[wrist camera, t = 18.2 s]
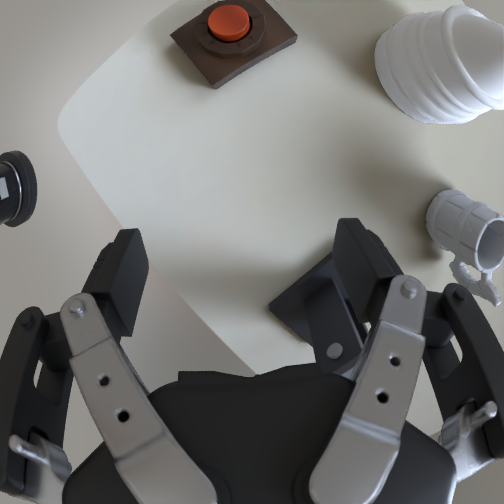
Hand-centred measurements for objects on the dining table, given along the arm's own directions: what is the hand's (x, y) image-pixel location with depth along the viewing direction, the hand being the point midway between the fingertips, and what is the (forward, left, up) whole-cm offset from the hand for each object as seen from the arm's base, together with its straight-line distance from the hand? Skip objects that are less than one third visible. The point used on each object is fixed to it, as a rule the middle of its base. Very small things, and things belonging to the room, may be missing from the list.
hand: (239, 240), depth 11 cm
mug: (+25, +2, -19) cm, 32 cm away
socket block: (-7, +14, -19) cm, 25 cm away
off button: (-7, +14, -15) cm, 22 cm away
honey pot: (+14, +19, -19) cm, 31 cm away
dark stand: (+13, -11, -19) cm, 25 cm away
